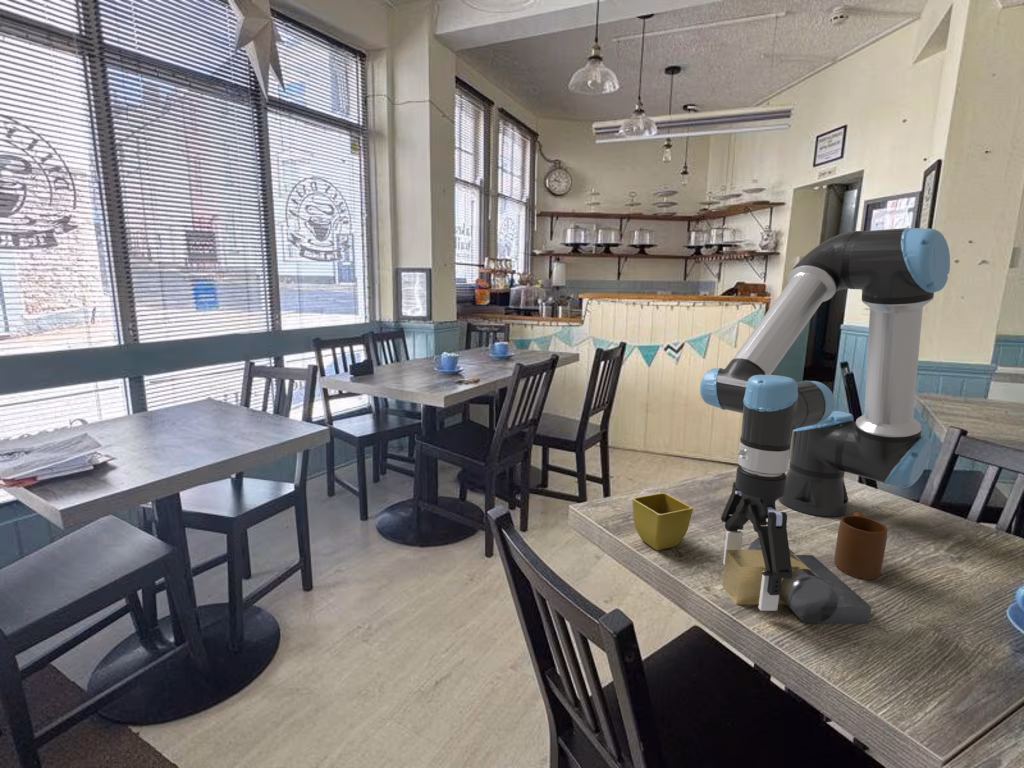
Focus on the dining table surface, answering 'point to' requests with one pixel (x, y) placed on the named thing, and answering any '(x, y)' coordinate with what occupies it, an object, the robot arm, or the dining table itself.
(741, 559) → the brass curved block
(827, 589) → the hinge base leaf
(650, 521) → the flower pot
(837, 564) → the mug
